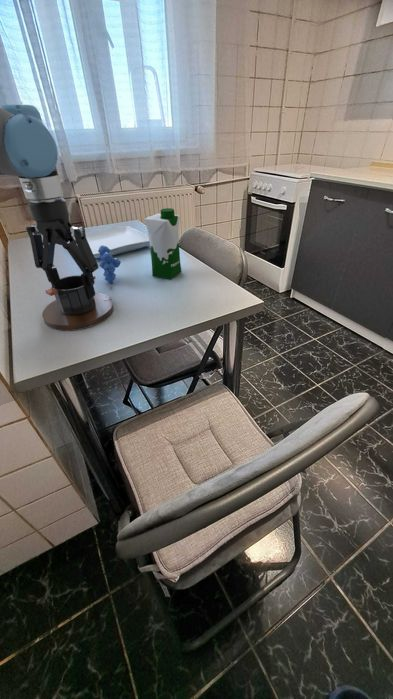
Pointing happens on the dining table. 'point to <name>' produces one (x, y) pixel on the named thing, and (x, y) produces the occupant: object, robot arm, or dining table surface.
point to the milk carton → (164, 243)
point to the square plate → (117, 240)
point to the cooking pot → (71, 295)
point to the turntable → (78, 315)
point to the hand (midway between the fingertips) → (75, 295)
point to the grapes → (108, 263)
